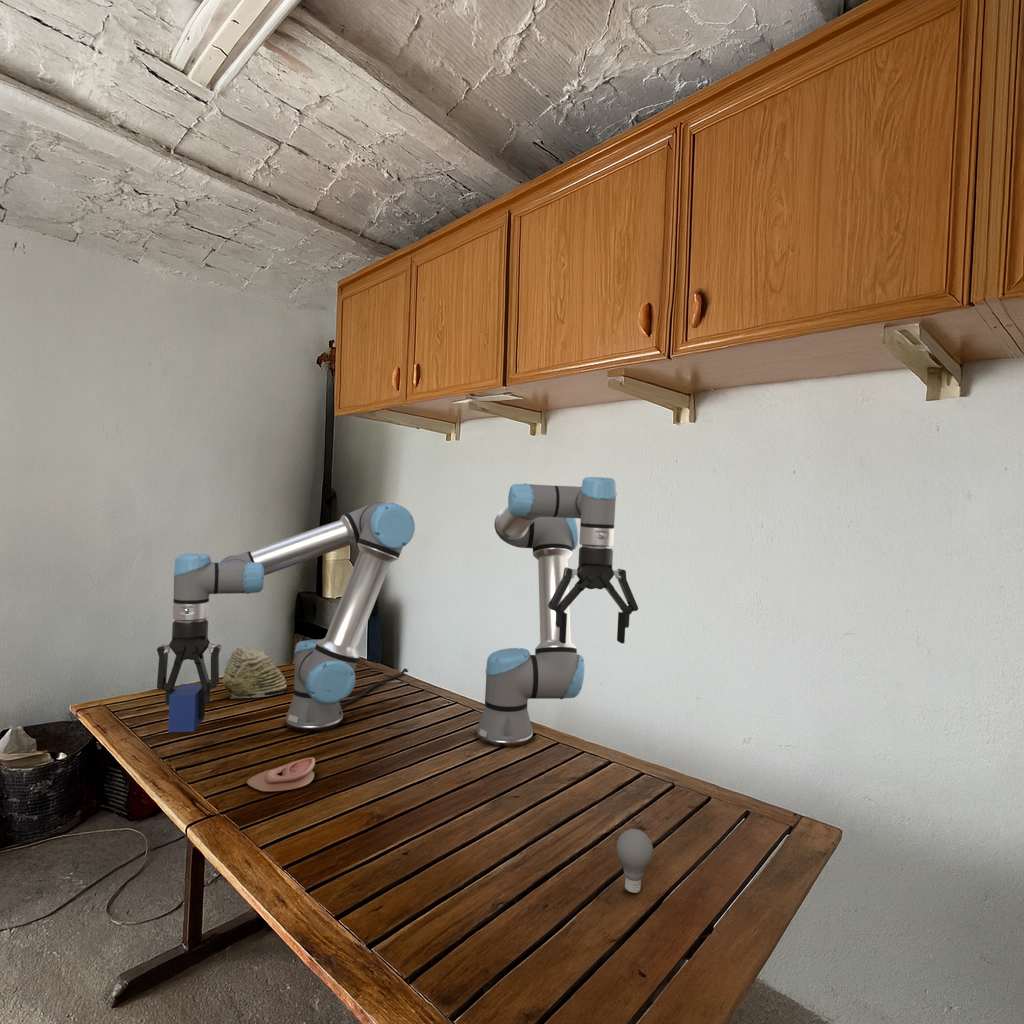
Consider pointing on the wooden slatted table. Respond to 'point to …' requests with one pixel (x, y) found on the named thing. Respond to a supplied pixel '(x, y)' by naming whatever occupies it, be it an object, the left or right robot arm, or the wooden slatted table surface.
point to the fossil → (252, 674)
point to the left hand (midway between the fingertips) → (187, 717)
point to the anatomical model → (284, 776)
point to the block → (184, 708)
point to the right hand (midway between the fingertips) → (591, 642)
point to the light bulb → (634, 857)
